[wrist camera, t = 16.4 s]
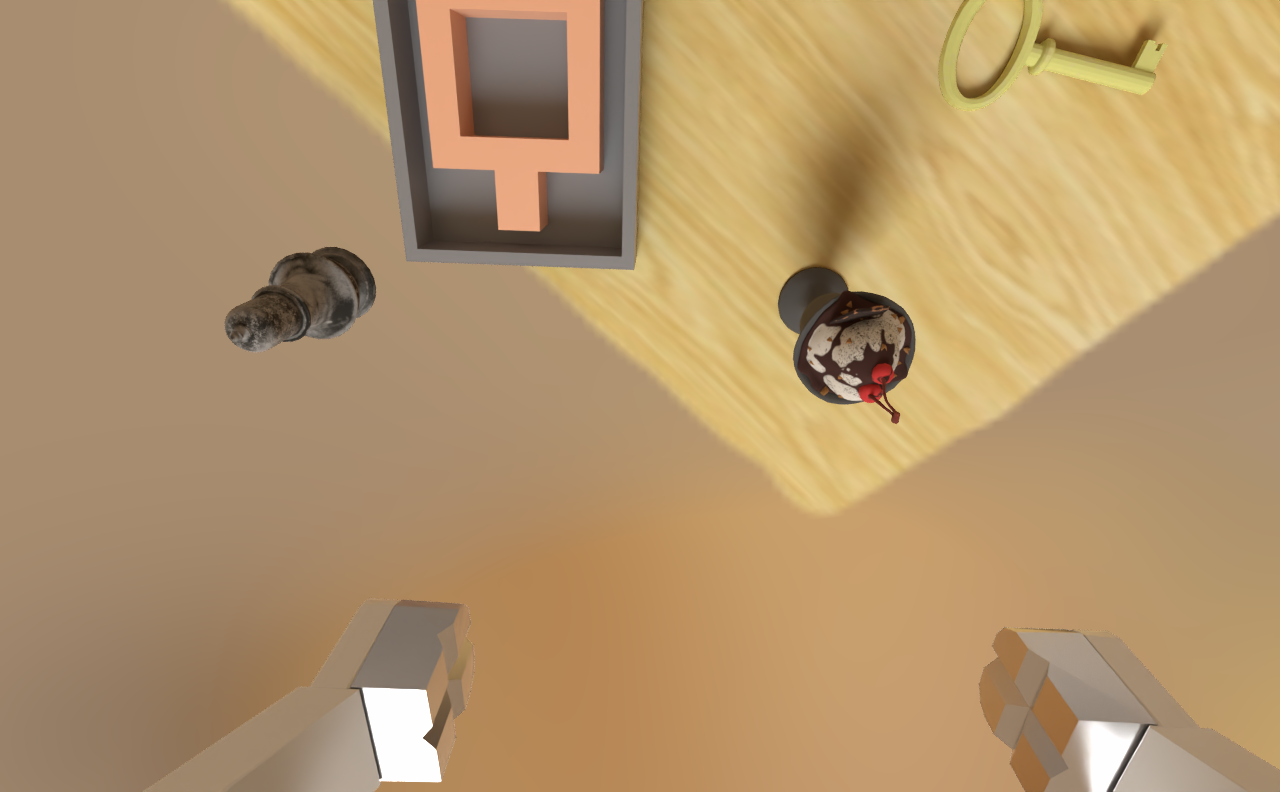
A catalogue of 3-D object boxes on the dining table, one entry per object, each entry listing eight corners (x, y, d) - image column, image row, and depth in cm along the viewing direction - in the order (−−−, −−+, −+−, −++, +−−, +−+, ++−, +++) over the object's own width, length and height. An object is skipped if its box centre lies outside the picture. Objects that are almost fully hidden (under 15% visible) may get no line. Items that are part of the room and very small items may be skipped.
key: (1135, 95, 37) (1161, 93, 35) (930, 114, 38) (945, 113, 36) (1166, -46, 34) (1197, -56, 32) (944, -22, 35) (960, -30, 33)
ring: (431, -21, 35) (412, -33, 32) (604, -15, 35) (599, -27, 32) (454, 220, 40) (439, 227, 38) (603, 226, 40) (599, 233, 38)
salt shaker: (284, 249, 42) (155, 293, 32) (364, 236, 42) (259, 278, 31) (315, 328, 45) (204, 395, 34) (391, 317, 44) (303, 382, 33)
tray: (645, -73, 34) (643, -94, 31) (636, 257, 42) (634, 269, 38) (389, -80, 34) (359, -103, 31) (427, 249, 42) (406, 261, 39)
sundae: (823, 362, 45) (895, 468, 31) (748, 317, 43) (788, 407, 30) (881, 286, 42) (987, 365, 29) (803, 237, 41) (874, 294, 27)
